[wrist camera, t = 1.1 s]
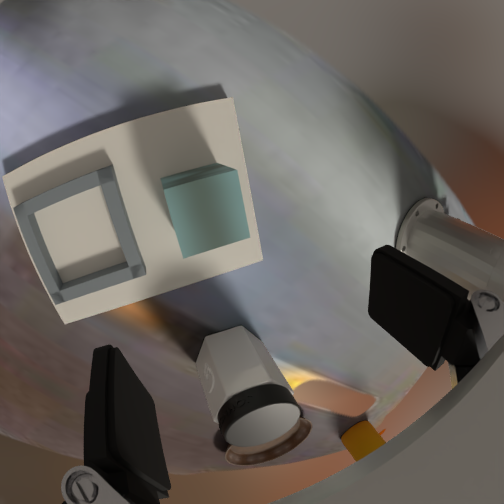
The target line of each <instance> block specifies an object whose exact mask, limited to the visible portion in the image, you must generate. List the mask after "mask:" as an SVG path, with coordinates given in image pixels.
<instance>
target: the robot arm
mask: <svg viewBox="0 0 504 504" xmlns="http://www.w3.org/2000/svg"><path fill="white" fill-rule="evenodd" d="M368 313H369V316H370V317H371V318H372V319H373V320H374V321H375V322H376V323H377V324H379V325H380V326H381V327H382V328H383V329H384V330H386V331H387V332H388V333H389V334H390V335H391V336H392V337H394V338H395V339H396V340H397V341H398V342H399V343H401V344H402V345H403V346H404V347H405V348H406V349H407V350H409V351H410V352H411V353H412V354H413V355H414V356H415V357H416V358H418V359H419V360H420V361H421V362H422V363H423V364H424V365H426V366H428V367H429V366H430V367H431V368H432V369H433V370H437V369H438V368H439V367H440V366H441V365H442V364H443V363H444V361H445V360H447V361H448V363H449V370H450V377H451V385H452V390H451V391H450V392H449V393H448V394H446V396H444V397H443V398H442V399H441V400H440V401H439V402H438V403H437V404H436V405H434V406H433V407H432V408H431V409H430V410H429V411H427V412H426V413H425V414H424V415H423V416H421V417H420V418H419V419H418V420H416V421H415V422H414V423H413V424H411V425H410V426H409V427H407V428H406V429H405V430H403V431H402V432H401V433H399V434H398V435H397V436H396V437H394V438H392V439H391V440H390V441H388V442H387V443H385V444H384V445H382V446H381V447H379V448H378V449H376V450H375V451H373V452H372V453H370V454H368V455H367V456H365V457H364V458H362V459H360V460H359V461H357V462H355V463H354V464H352V465H350V466H349V467H347V468H345V469H343V470H341V471H339V472H338V473H336V474H334V475H332V476H330V477H328V478H326V479H324V480H322V481H320V482H318V483H316V484H314V485H312V486H310V487H308V488H305V489H303V490H301V491H299V492H296V493H294V494H292V495H289V496H287V497H284V498H282V499H280V500H277V501H274V502H271V503H268V504H504V240H503V239H501V238H499V237H497V236H495V235H493V234H491V233H489V232H486V231H484V230H482V229H480V228H477V227H475V226H473V225H471V224H468V223H466V222H464V221H461V220H460V219H458V218H457V219H456V218H454V217H451V216H449V215H446V214H445V213H444V209H443V207H442V205H441V204H440V203H439V202H438V201H437V200H435V199H432V198H424V199H421V200H420V201H418V202H417V203H416V204H415V205H414V206H413V207H412V208H411V209H410V211H409V212H408V213H407V215H406V217H405V219H404V221H403V223H402V225H401V228H400V231H399V234H398V238H397V244H396V248H394V247H392V246H390V245H385V246H383V247H380V248H378V249H376V250H375V251H374V253H373V255H372V258H371V277H370V292H369V305H368ZM170 489H171V484H170V480H169V476H168V471H167V467H166V463H165V458H164V454H163V449H162V444H161V439H160V434H159V428H158V422H157V416H156V410H155V404H154V401H153V399H152V397H151V395H150V394H149V393H148V391H147V390H146V388H145V387H144V386H143V384H142V383H141V381H140V380H139V379H138V377H137V376H136V374H135V373H134V371H133V370H132V368H131V367H130V365H129V364H128V362H127V361H126V359H125V357H124V356H123V354H122V353H121V351H120V350H119V348H118V347H115V348H113V346H112V345H106V346H102V347H99V348H95V349H94V352H93V359H92V368H91V377H90V388H89V392H88V393H87V394H86V400H85V416H84V466H76V467H73V468H71V469H70V470H69V471H67V473H66V474H65V475H64V477H63V480H62V484H61V490H62V495H63V497H64V499H65V501H64V502H63V503H62V504H160V502H159V499H163V498H168V497H169V495H168V491H167V490H170Z"/></svg>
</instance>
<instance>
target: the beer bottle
mask: <svg viewBox="0 0 504 504" xmlns="http://www.w3.org/2000/svg"><path fill="white" fill-rule="evenodd" d="M341 441H342V443H343V444H344V446H345V447H346V448H347V450H348V451H349V452H350V454H351V455H352V456H353V458H354V459H355V460H356V462H357V461H359V460H360V459H362V458H364V457H365V456H367V455H368V454H370V453H372V452H373V451H375V450H376V449H378V448H379V447H381V446H382V445H384V444H385V443H386V442H385V441H384V440H383V438H382V437H381V436H380V435H379V434H378V432H377V431H376V430H375V429H374V427H373V426H372V425H371V423H369V422H368V421H361V422H359V423H357V424H355V425H354V426H352V427H351V428H350V429H348V430H347V431H346V432H345V433H344V434H343V435H342V437H341Z"/></svg>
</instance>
